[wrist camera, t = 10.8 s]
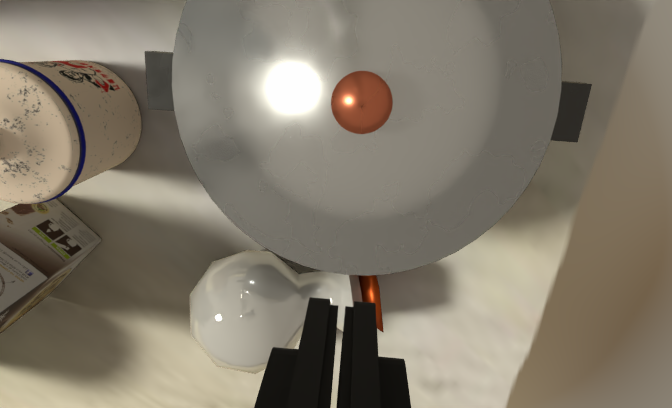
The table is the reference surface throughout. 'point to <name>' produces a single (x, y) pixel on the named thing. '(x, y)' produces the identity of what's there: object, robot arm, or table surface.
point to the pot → (564, 130)
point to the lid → (366, 121)
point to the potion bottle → (265, 306)
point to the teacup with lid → (61, 126)
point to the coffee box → (37, 254)
